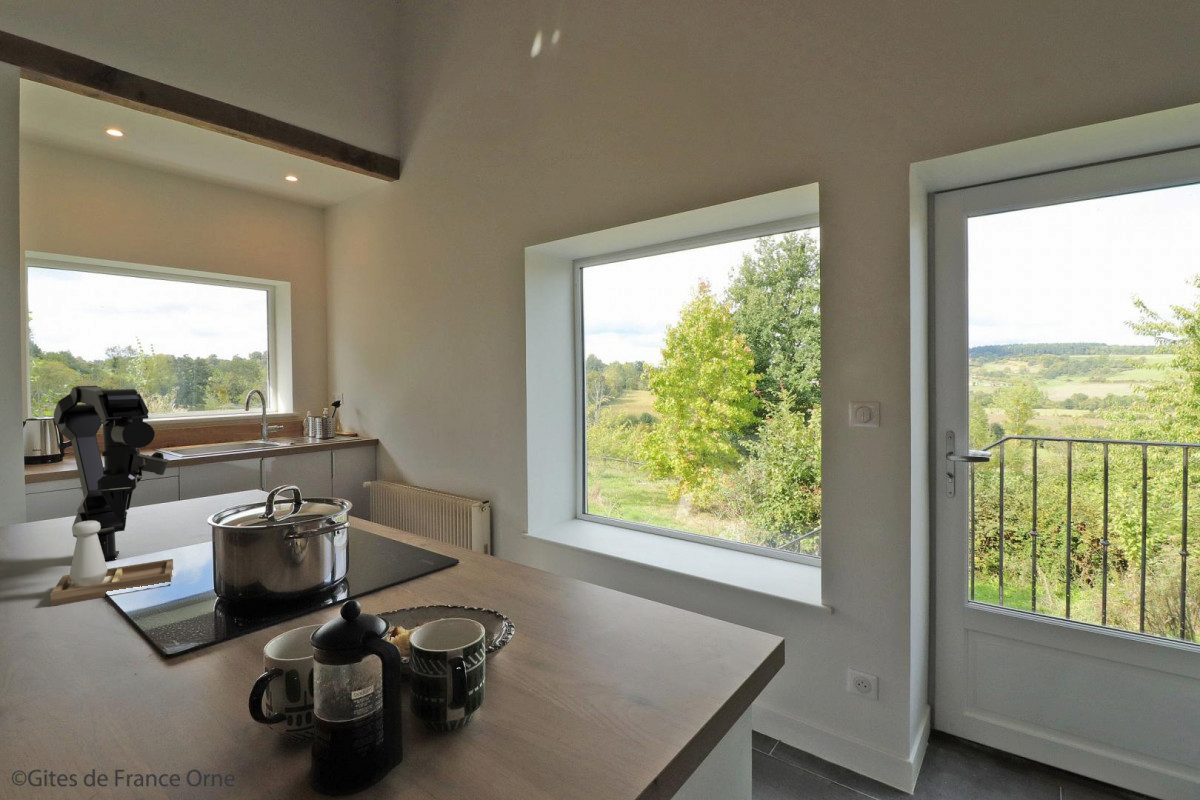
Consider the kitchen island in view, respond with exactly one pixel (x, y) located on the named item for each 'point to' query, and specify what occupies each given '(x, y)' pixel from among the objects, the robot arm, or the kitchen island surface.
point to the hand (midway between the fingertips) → (123, 513)
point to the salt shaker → (87, 555)
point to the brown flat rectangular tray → (113, 581)
